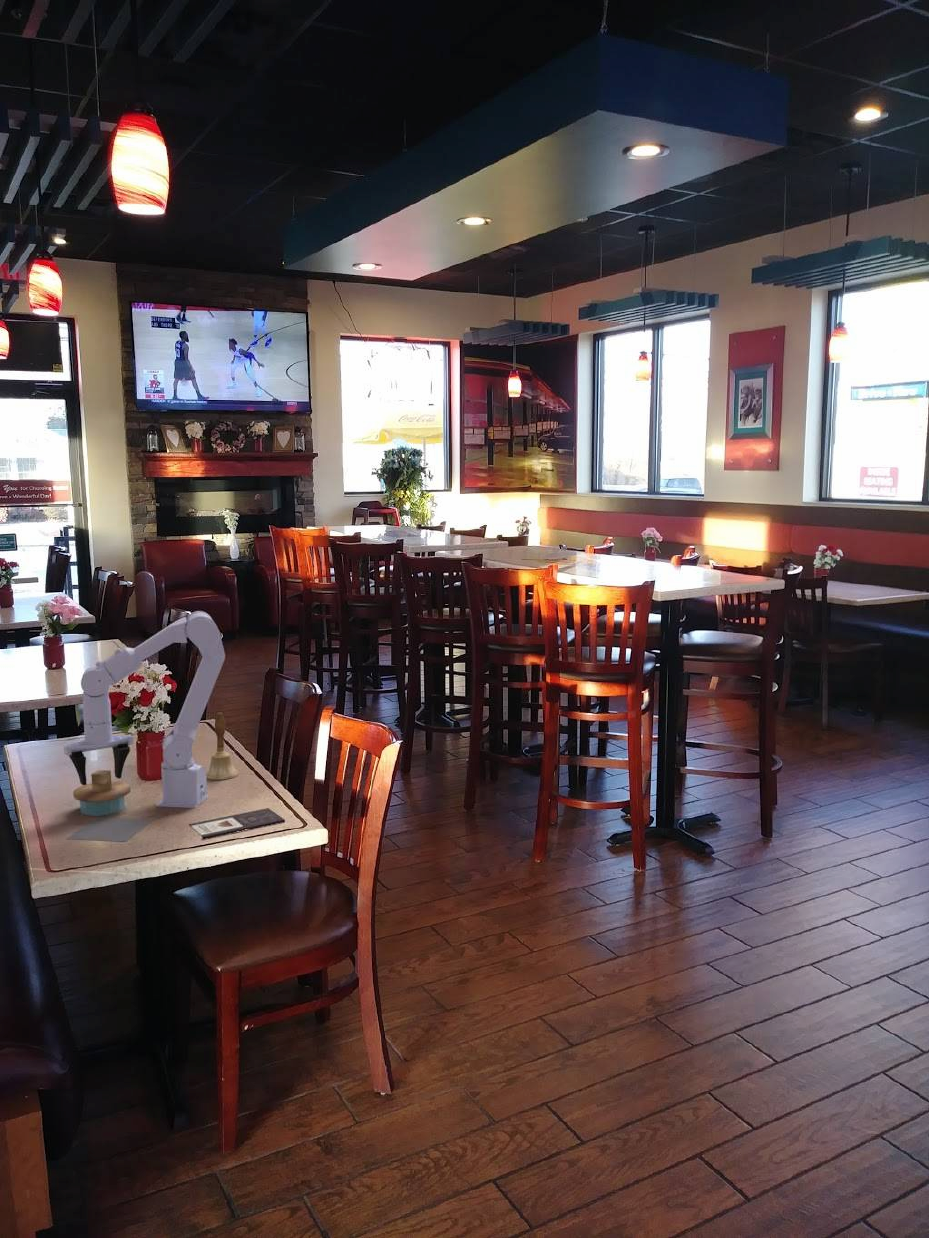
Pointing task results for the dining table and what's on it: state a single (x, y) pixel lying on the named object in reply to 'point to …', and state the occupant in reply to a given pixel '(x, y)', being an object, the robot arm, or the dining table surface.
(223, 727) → the hand bell
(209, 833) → the chocolate bar
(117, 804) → the bowl
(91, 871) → the dining table surface
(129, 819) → the mat
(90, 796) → the lid
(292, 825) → the dining table surface
